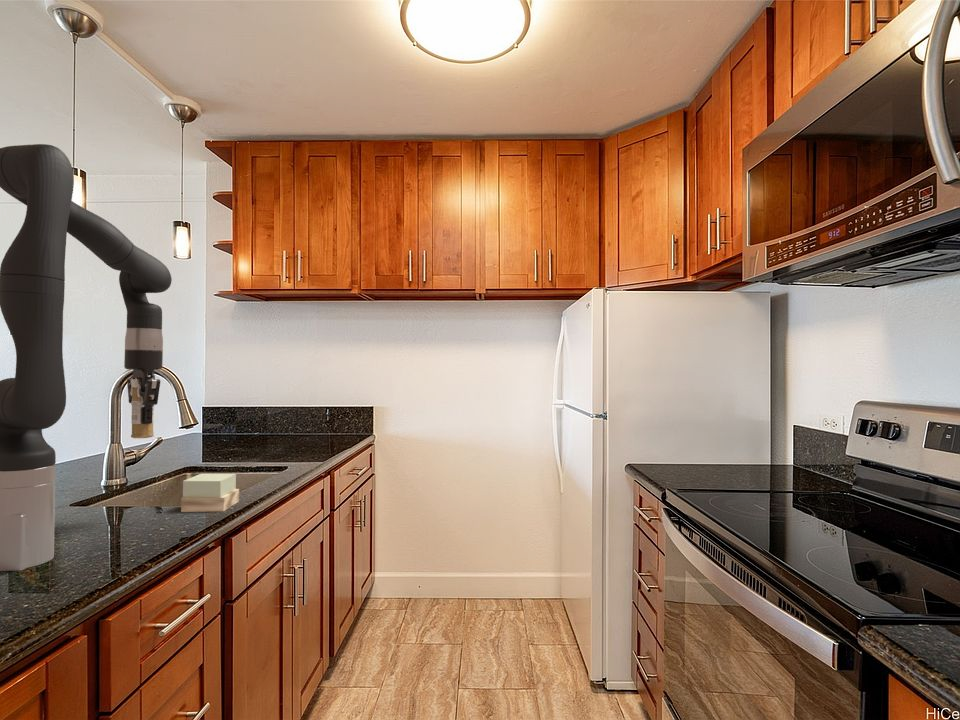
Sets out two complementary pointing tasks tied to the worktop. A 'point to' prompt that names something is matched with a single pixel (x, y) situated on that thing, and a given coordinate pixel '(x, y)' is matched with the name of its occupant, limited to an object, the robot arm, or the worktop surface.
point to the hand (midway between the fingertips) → (142, 422)
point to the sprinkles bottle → (139, 417)
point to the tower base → (210, 503)
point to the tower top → (209, 485)
